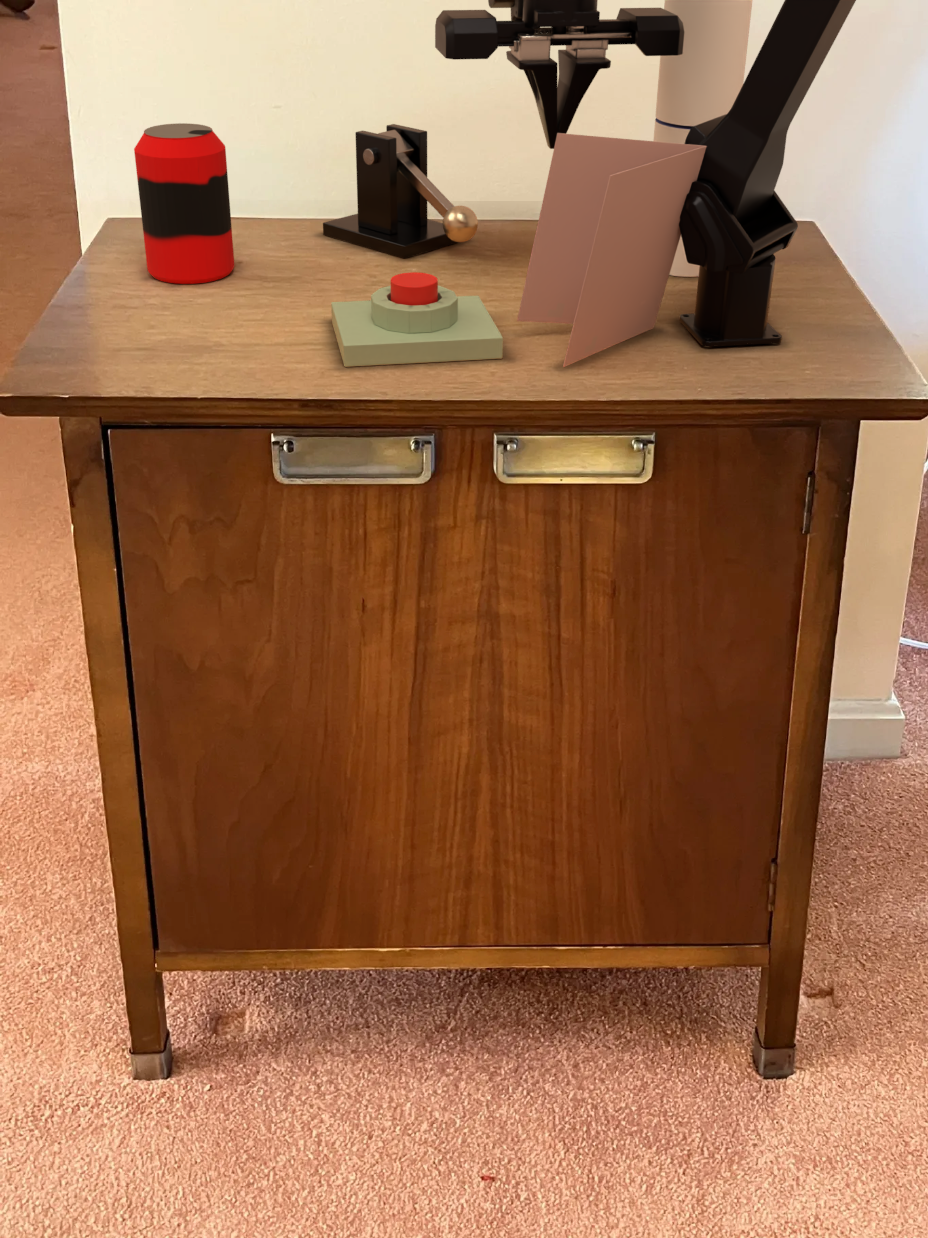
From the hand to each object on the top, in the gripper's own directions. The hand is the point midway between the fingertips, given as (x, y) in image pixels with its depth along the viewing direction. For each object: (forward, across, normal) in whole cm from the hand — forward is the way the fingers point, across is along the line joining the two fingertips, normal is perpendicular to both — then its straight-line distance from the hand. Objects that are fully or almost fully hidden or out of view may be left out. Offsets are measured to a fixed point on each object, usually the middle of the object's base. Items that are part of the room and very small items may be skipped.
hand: (553, 147), depth 111 cm
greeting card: (+12, -1, +14) cm, 18 cm away
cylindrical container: (+12, -14, -6) cm, 20 cm away
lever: (+8, +9, -15) cm, 19 cm away
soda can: (+12, +30, -10) cm, 34 cm away
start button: (+9, +13, +10) cm, 19 cm away
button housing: (+12, +13, +10) cm, 20 cm away
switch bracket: (+12, +11, -18) cm, 24 cm away
